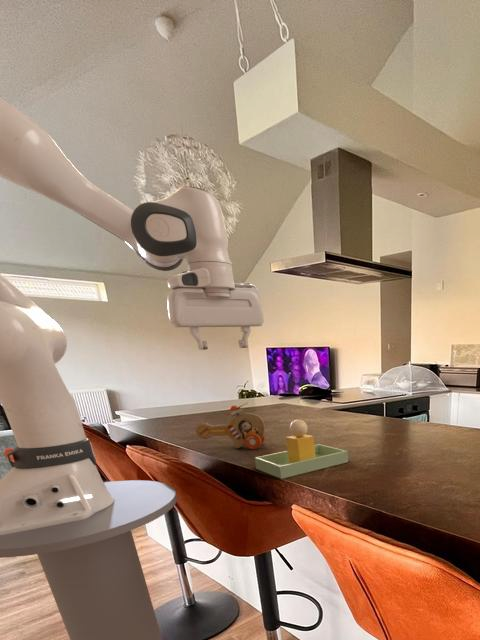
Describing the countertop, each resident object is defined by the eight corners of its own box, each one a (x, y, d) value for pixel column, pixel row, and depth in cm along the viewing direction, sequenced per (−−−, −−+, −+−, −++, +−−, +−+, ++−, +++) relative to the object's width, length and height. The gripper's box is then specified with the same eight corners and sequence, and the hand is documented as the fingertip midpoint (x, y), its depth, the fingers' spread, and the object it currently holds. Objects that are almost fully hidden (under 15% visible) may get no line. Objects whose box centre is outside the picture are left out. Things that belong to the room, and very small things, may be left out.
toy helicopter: (265, 449, 129) (258, 403, 124) (196, 453, 128) (186, 407, 123) (269, 443, 137) (263, 400, 132) (204, 447, 136) (196, 403, 131)
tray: (281, 478, 99) (279, 466, 98) (256, 468, 108) (254, 457, 107) (348, 462, 111) (347, 450, 110) (320, 454, 120) (319, 443, 119)
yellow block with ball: (300, 467, 106) (295, 421, 102) (289, 464, 109) (283, 420, 105) (316, 462, 109) (311, 418, 105) (304, 459, 113) (300, 417, 109)
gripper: (251, 284, 100) (260, 347, 105) (159, 279, 88) (174, 350, 93) (263, 281, 95) (271, 346, 100) (167, 275, 83) (182, 350, 88)
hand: (224, 348), depth 97 cm, fingers open, 8 cm apart
